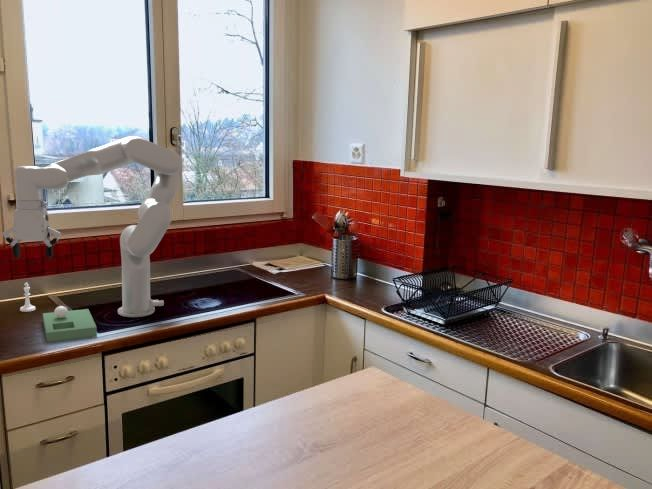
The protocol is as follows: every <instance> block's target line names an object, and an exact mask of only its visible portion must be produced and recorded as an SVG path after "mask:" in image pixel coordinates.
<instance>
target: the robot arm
mask: <svg viewBox="0 0 652 489" xmlns="http://www.w3.org/2000/svg"><path fill="white" fill-rule="evenodd" d="M133 163H135V164H137V165H139V166H143V168H146V169H150V170H152V171H154V175H155V176H154V177H155V178H154V180H153V183H152V186H151V188H150V190H149V191H148V193H147V195H146V196H145V198H143V201H142V203H141V204H140V206H139V208H138V210H137V217H138V219H139V221H138V222H137V224H131V225H128V226H126V227H125V228H124V229H123V230H122V232H121V234H120V235H119V236H120V237H119V245H120V256H121V257H120V258H121V298H122V299H121V300H122V303H121V304H122V305H121V307H119V308H117V314H118V315H120V316H122V317H127V318H142V317H146V316H150V315H152V314H154V313H155V311H156V309H155V307H162V306H165V305H164V304H165V302H164V300H163V299H161V300H159V299H152V298H151V259H150V255H151V254H153V252H154V251H155V250H156V248H157V247H158V246H159V243H160V242H161V241H162V239H163V237H164V235H165V234H166V232H167V230H168V228H169V227H170V224H171V222H172V216H173V214H172V211H171V208H170V206H171V205H172V202H173V201H174V199H175V197H176V195H177V192H178V190H179V187H180V171H181V170H182V167H183V159H182V158H181V156H180V154H179V153H177V152H176V151H174V150H172V149H169V148H167V147H164V146H161V145H159V144H156V143H155V142H151V141H149V140H147V139H145V138H143V137H140V136H133V135H131V136H127V137H123V138H121V139H118V140H115V141H113V142H110V143H106V144H104V145H100V146H98V147H95V148H91V149H89V150H87V151H85V152H82V153H79V154H76V155H73V156H71V157H67V158H64V159H62V160H59V161H56V162H52V163H50V164H48V165H46V166H44V167H39V166H35V165H20V166H18V165H17V166H16V167H15V168H14V184H15V186H14V187H15V199H16V200H15V201H16V209H14V212H13V221H12V222H13V223H12V227H10V228H9V229H6V230H5V231H2V233H1V234H2V235H3V237H4V239H5V241H6V242H7V243H8V244H9V245H10V246H11V248H12V255H13V258H14V259H19V258H20V257H21V244H19V243H20V242H24V241H25V242H43V243H44V244H45V245H46V247H45V257H46V259H47V260H50V259H52V257H53V256H54V245H55V244H56V243H57V242H58V241H59V239H60V237H61V235H62V232H61V231H58V230H56V229H54V228H53V227H51V222H50V217H49V213H48V209H47V208H45V207H48V206H49V203H48V202H47V201H45V200H44V194H43V193H44V192H43V190H44V189H45V190H52V191H59V190H62V189H65V188H66V187H67V186H68V185H69V184H70V183H71V182H73V181H75V180H78V179H81V178H84V177H88V176H89V177H90V176H99V175H104V174H106V173H109V172H112V171H114V170H116V169H119V168H122V167H124V166H127V165H130V164H133ZM11 233H12V236H13V237H12V236H11V235H10V234H11ZM52 235H53V236H54V237H53V238H52V239H51V237H52Z"/></svg>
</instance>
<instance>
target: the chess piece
mask: <svg viewBox="0 0 652 489" xmlns="http://www.w3.org/2000/svg"><path fill="white" fill-rule="evenodd" d="M23 285H24V286H25V287H23V291H24V294H23V296H25V298H24V299H25V300H24V305H22V306H20V308H19V311H20V312H23V313H24V312H32V311H33V312H34V311H35V310H36V309H37V308H36V306H35V305H32V304H31V302H30V295H31V293H30V289H31V287H30V283H28V282H27V281H26V282H25V283H24V284H23Z"/></svg>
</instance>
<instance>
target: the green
mask: <svg viewBox="0 0 652 489" xmlns="http://www.w3.org/2000/svg"><path fill="white" fill-rule="evenodd" d="M42 323H43V327H44V333H45V337H46V341H47V343H51V342H52V343H54V342H61V341H68V340H75V339H77V340H78V339H84V338H86V339H87V338H94V337H98V331H97V330H98V329H97V328H98V327H97V325H96V322H95V321H94V318H93V316H92V314H91V312H90V310H89V308H84V309H74V310H68V314H67V316H66V317H64V318H57V317H56V316H55V314H54V311H53V312H45V313H43V312H42Z"/></svg>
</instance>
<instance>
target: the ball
mask: <svg viewBox="0 0 652 489" xmlns="http://www.w3.org/2000/svg"><path fill="white" fill-rule="evenodd" d="M68 311H69V310H68V308H67V307H66V306H63V305H59V306H56V308H55V309H54V311H53V312H54V314H55V316H56V317H57V318H64V317H66V316H67V314H68Z"/></svg>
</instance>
